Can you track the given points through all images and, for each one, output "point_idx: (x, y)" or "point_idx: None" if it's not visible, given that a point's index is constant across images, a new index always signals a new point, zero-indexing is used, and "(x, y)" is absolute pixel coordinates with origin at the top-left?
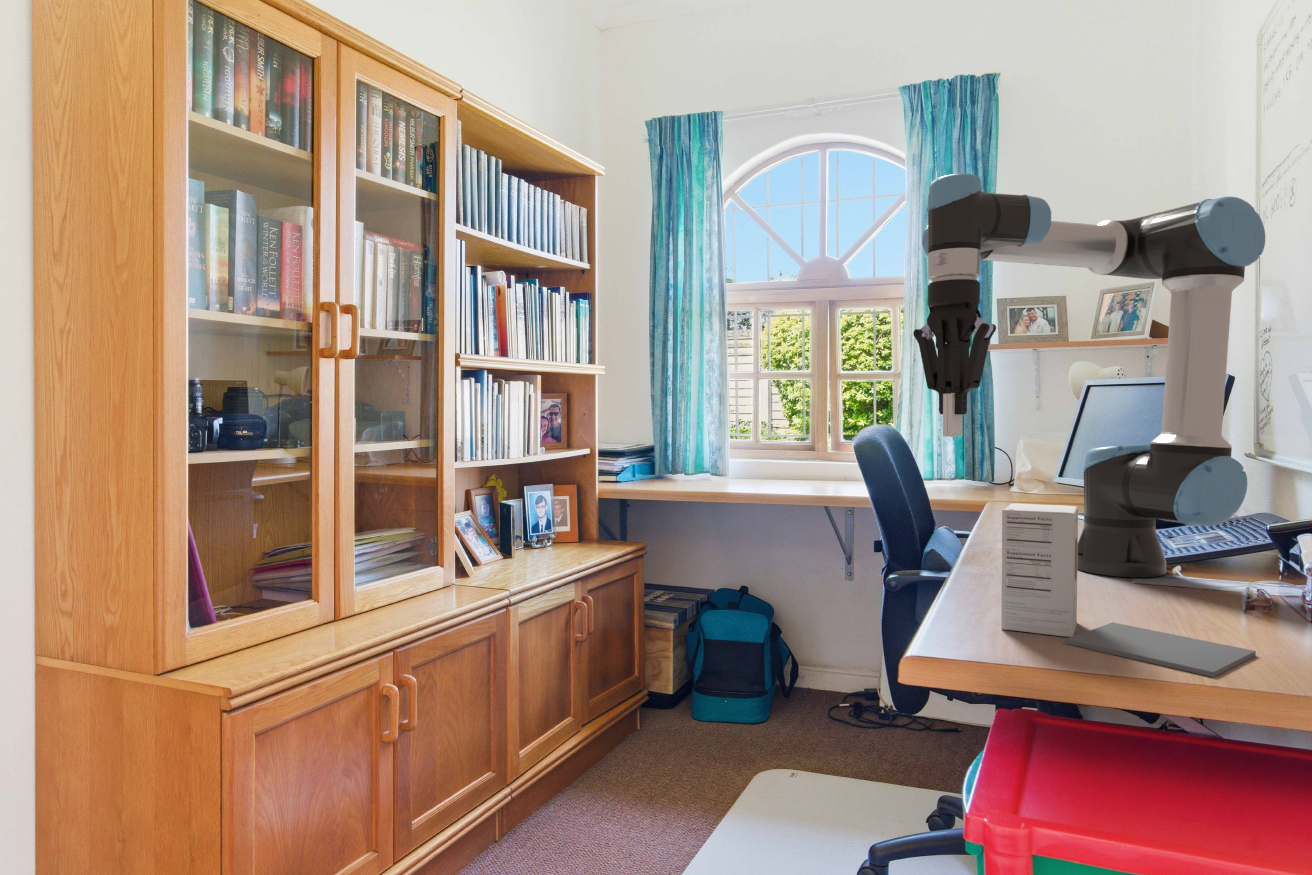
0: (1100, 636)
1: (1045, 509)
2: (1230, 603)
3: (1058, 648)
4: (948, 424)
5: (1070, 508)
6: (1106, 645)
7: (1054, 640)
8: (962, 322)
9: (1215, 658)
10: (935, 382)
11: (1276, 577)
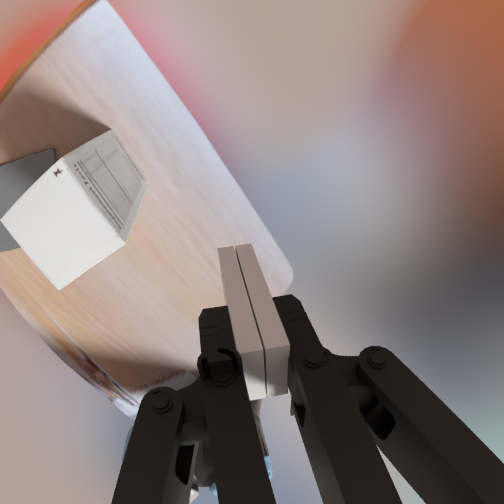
0: None
1: (32, 213)
2: (105, 365)
3: (47, 129)
4: (236, 268)
5: (35, 257)
6: (27, 165)
7: (64, 146)
8: None
9: None
10: (364, 386)
11: None
